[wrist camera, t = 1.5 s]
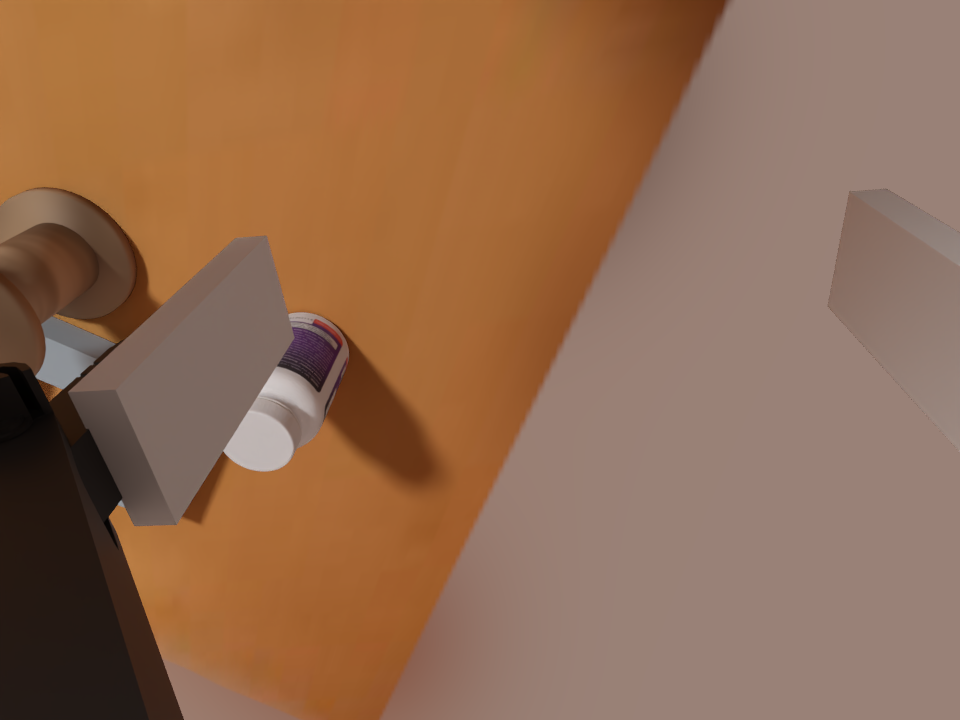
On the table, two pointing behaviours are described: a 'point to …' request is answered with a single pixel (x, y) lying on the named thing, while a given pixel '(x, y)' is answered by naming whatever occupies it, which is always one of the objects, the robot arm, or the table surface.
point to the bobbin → (56, 267)
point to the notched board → (68, 353)
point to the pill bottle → (292, 396)
